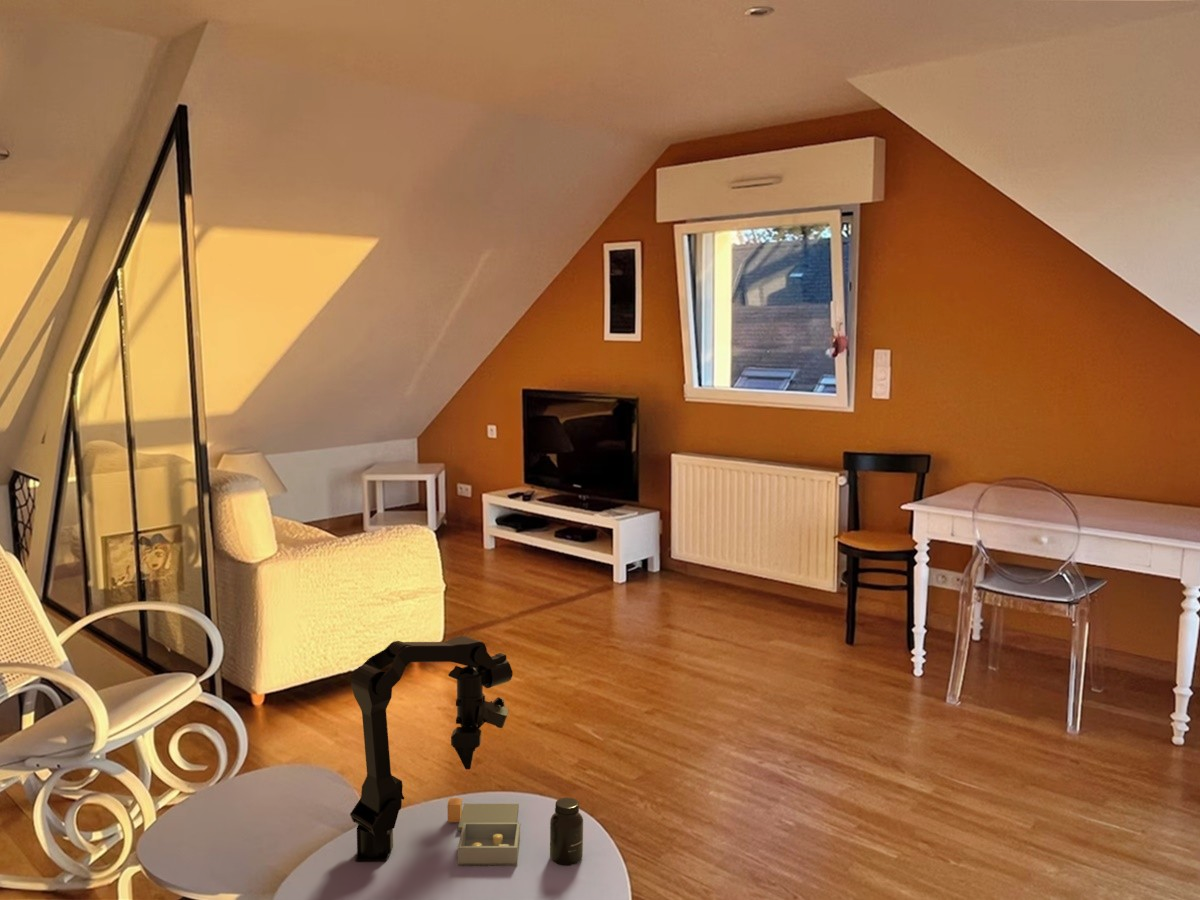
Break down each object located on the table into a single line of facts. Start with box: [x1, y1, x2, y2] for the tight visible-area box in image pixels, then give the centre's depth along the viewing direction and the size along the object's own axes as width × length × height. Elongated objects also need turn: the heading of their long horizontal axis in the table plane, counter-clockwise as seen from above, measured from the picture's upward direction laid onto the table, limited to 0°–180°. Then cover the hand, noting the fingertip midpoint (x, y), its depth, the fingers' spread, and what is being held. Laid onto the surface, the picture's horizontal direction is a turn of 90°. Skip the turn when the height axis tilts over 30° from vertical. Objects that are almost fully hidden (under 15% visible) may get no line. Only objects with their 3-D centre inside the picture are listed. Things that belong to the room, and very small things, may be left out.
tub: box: [457, 822, 521, 867], centre depth 197 cm, size 12×10×4 cm
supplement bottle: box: [549, 797, 584, 867], centre depth 195 cm, size 7×7×12 cm
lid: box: [446, 797, 520, 832], centre depth 209 cm, size 15×10×5 cm
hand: (470, 759), depth 213 cm, fingers open, 9 cm apart
